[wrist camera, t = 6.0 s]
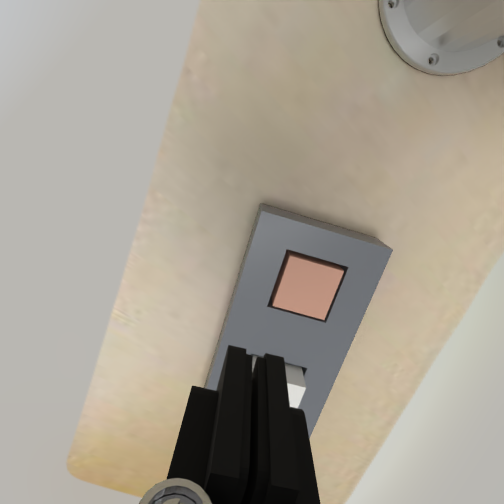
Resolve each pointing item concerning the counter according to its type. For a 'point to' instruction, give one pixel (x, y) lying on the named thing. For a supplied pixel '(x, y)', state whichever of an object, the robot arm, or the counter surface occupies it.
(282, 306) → the terracotta key
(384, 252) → the key panel
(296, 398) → the off-white key
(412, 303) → the counter surface
